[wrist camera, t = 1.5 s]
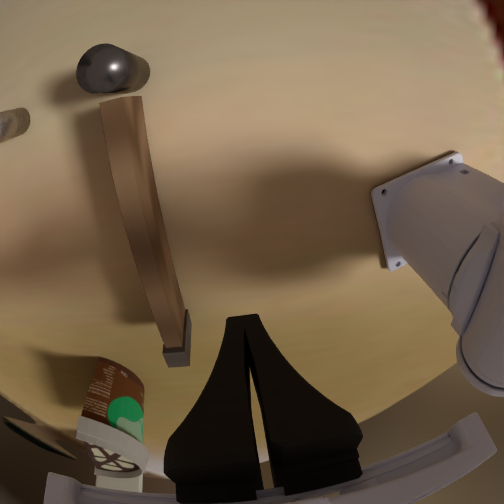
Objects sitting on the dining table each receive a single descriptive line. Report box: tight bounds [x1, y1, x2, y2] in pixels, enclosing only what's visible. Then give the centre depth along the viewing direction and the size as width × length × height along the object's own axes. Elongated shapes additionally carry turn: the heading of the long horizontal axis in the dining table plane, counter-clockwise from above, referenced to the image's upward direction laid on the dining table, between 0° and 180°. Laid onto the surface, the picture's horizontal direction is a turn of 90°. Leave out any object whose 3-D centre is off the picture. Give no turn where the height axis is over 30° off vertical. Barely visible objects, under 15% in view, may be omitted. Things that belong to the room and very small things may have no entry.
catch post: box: [0, 108, 30, 142], centre depth 12 cm, size 2×2×4 cm
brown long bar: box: [99, 96, 192, 367], centre depth 18 cm, size 18×2×4 cm, turn 4°
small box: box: [95, 472, 143, 493], centre depth 31 cm, size 8×6×13 cm
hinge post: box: [76, 44, 150, 94], centre depth 12 cm, size 2×2×6 cm
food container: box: [76, 357, 150, 479], centre depth 24 cm, size 12×6×10 cm, turn 163°
